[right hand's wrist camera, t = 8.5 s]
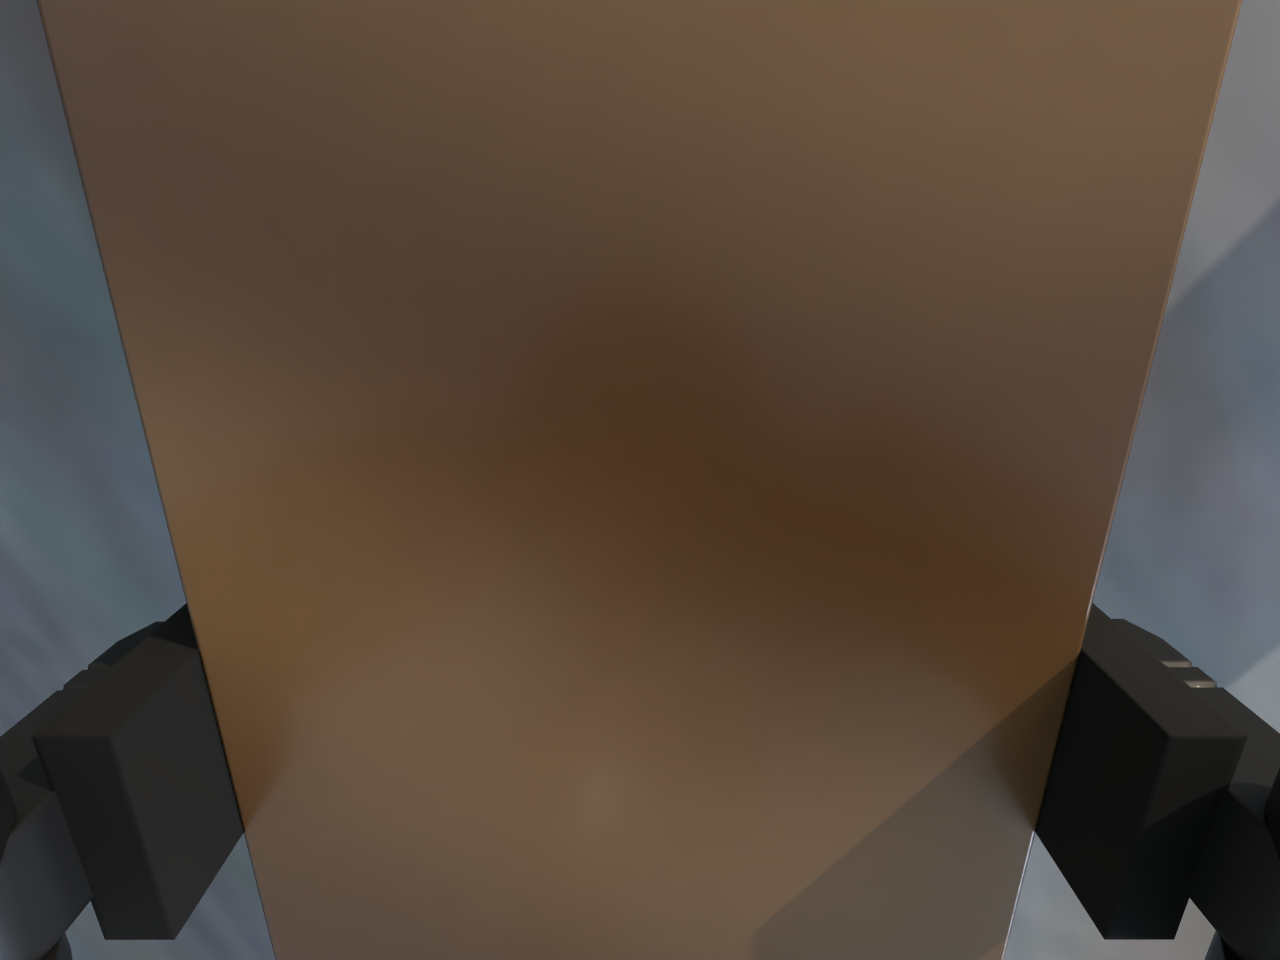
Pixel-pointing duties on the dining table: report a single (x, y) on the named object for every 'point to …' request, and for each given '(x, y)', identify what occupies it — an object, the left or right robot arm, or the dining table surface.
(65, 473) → the dining table surface
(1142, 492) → the dining table surface
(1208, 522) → the dining table surface
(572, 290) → the cabinet
